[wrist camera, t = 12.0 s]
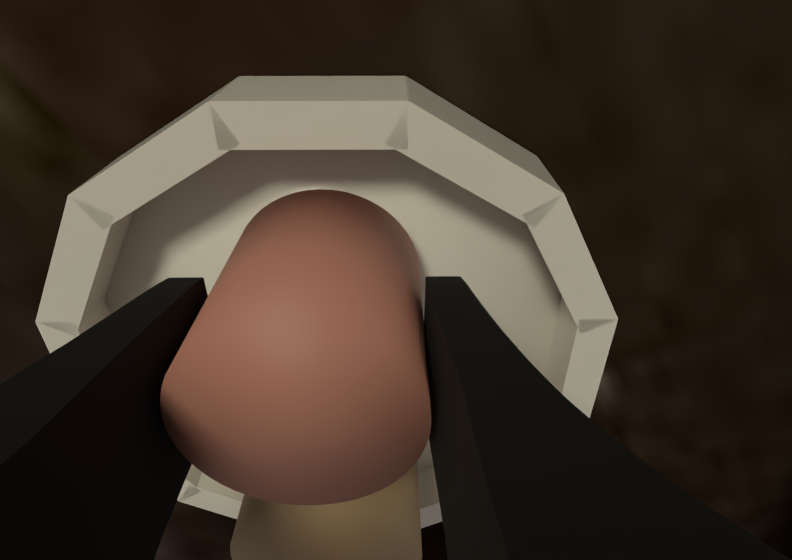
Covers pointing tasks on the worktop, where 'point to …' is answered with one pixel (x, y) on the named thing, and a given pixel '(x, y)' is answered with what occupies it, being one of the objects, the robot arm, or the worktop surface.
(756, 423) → the worktop surface
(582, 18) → the worktop surface
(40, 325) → the dish
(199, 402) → the brownish pink rounded piece
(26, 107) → the worktop surface
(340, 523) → the bead
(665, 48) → the worktop surface
